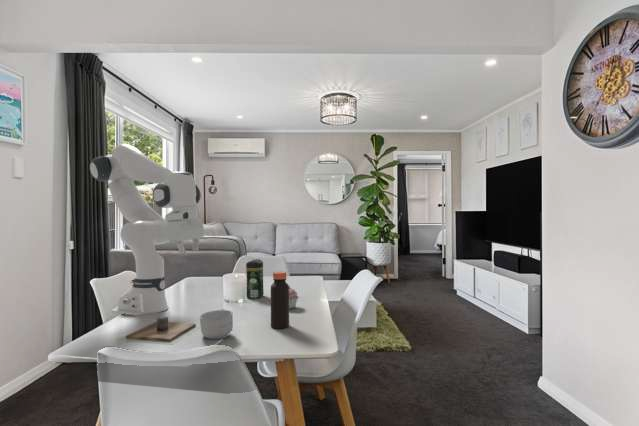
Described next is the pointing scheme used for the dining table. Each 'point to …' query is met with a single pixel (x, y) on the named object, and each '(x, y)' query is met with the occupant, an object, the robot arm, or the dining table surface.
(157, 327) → the lid
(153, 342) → the mat
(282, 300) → the bottle
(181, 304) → the dining table surface
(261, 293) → the coffee jar
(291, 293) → the cupcake
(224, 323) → the teacup
